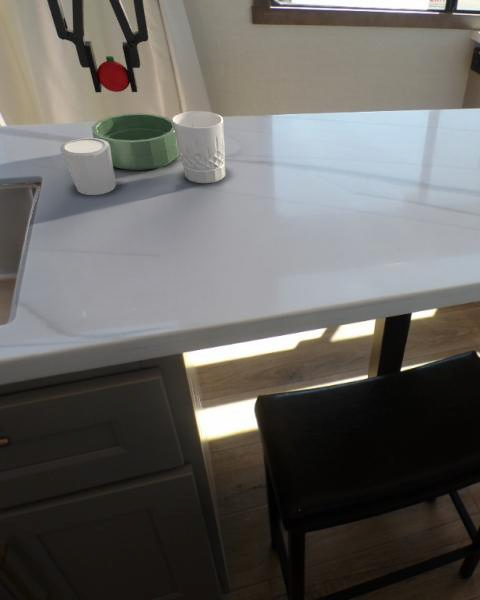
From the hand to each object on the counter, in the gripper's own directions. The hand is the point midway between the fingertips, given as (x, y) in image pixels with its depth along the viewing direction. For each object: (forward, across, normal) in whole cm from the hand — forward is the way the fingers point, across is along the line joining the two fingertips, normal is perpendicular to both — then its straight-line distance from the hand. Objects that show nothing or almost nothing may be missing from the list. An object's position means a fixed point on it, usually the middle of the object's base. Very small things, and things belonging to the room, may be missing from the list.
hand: (116, 89), depth 80 cm
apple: (0, 0, 0) cm, 0 cm away
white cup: (+15, +11, -2) cm, 18 cm away
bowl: (+14, +1, +8) cm, 17 cm away
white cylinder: (+15, -6, -3) cm, 16 cm away
